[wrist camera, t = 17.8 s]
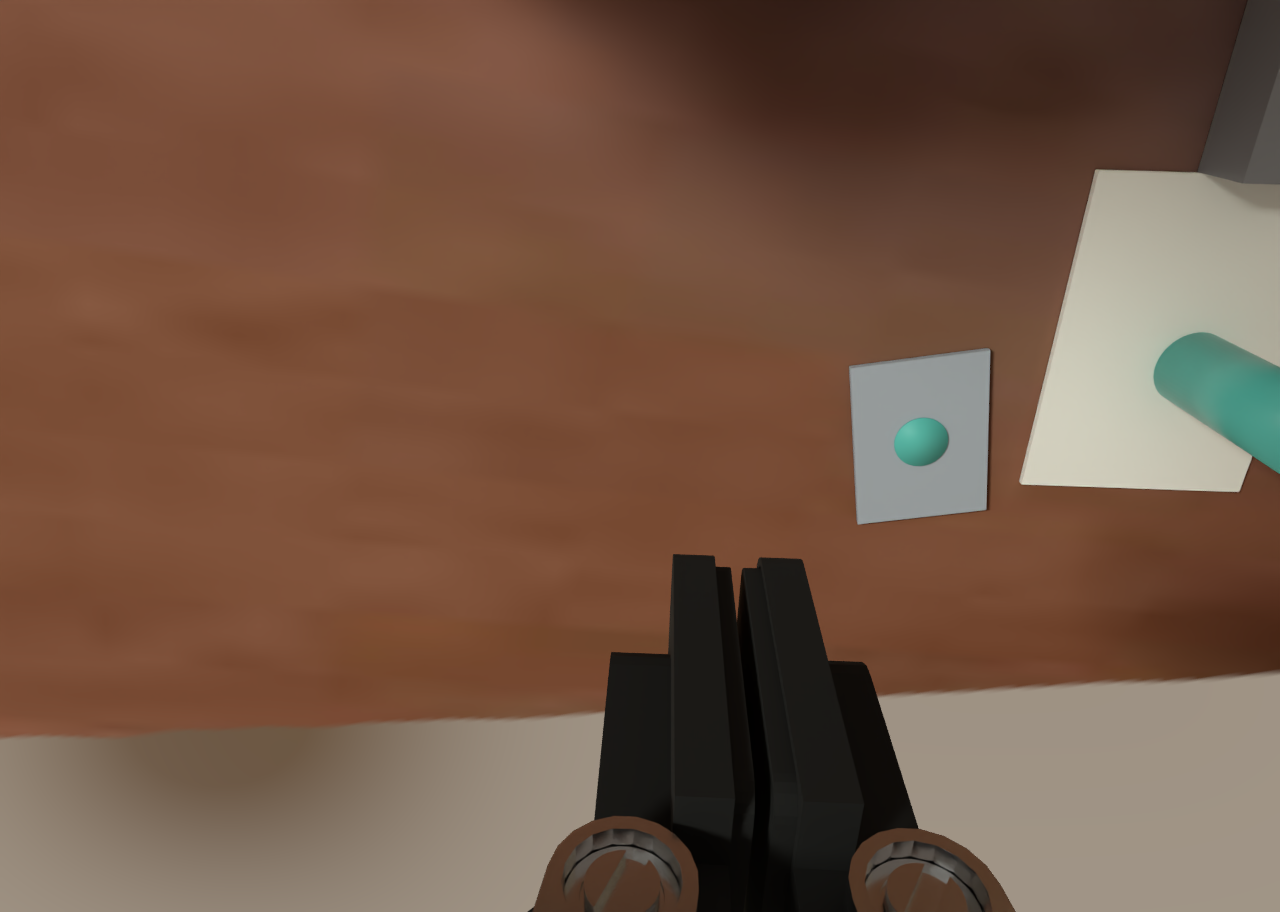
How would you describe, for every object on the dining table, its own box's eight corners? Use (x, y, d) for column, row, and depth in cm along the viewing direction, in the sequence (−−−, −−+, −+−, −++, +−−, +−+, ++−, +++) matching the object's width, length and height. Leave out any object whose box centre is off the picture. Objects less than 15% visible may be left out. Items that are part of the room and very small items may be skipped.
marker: (1171, 324, 36) (1358, 421, 27) (1245, 336, 37) (1455, 436, 27) (1138, 397, 38) (1305, 514, 29) (1209, 409, 38) (1397, 527, 29)
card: (849, 366, 38) (850, 369, 38) (987, 348, 37) (991, 350, 37) (856, 521, 41) (858, 525, 41) (984, 506, 41) (986, 510, 40)
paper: (1095, 169, 34) (1098, 170, 34) (1350, 176, 34) (1356, 177, 34) (1019, 481, 40) (1021, 484, 40) (1235, 489, 40) (1238, 492, 40)
